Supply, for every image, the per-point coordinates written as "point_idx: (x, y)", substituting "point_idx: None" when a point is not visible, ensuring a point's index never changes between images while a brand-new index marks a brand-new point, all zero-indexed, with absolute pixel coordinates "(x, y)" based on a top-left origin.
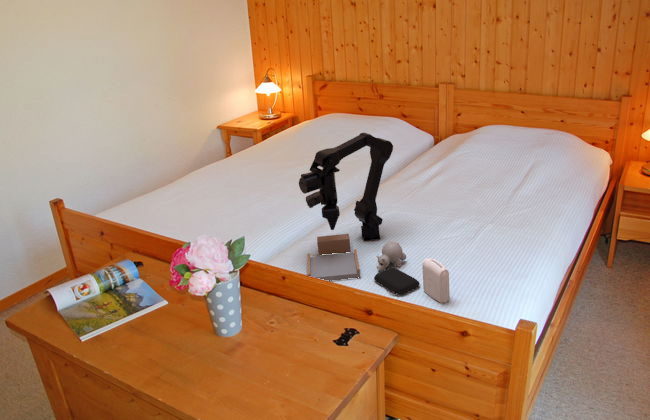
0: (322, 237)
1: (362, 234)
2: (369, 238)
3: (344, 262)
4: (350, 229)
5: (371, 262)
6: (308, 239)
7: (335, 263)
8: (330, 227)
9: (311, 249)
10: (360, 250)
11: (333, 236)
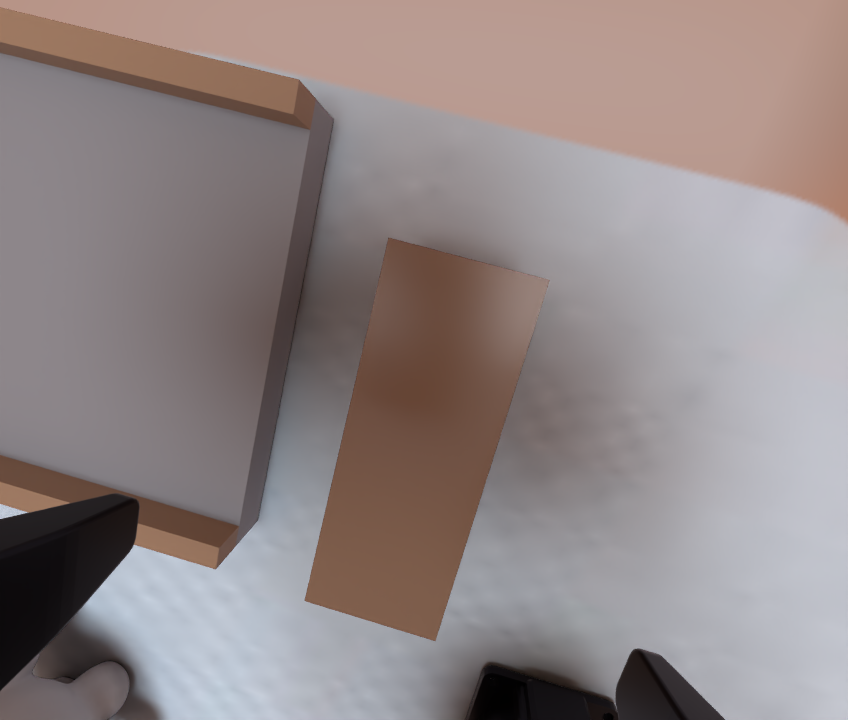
0: (488, 341)
1: (529, 711)
2: (484, 714)
3: (108, 402)
4: (770, 659)
5: (154, 577)
6: (822, 246)
7: (112, 327)
8: (36, 517)
9: (577, 217)
10: None
11: (447, 473)
